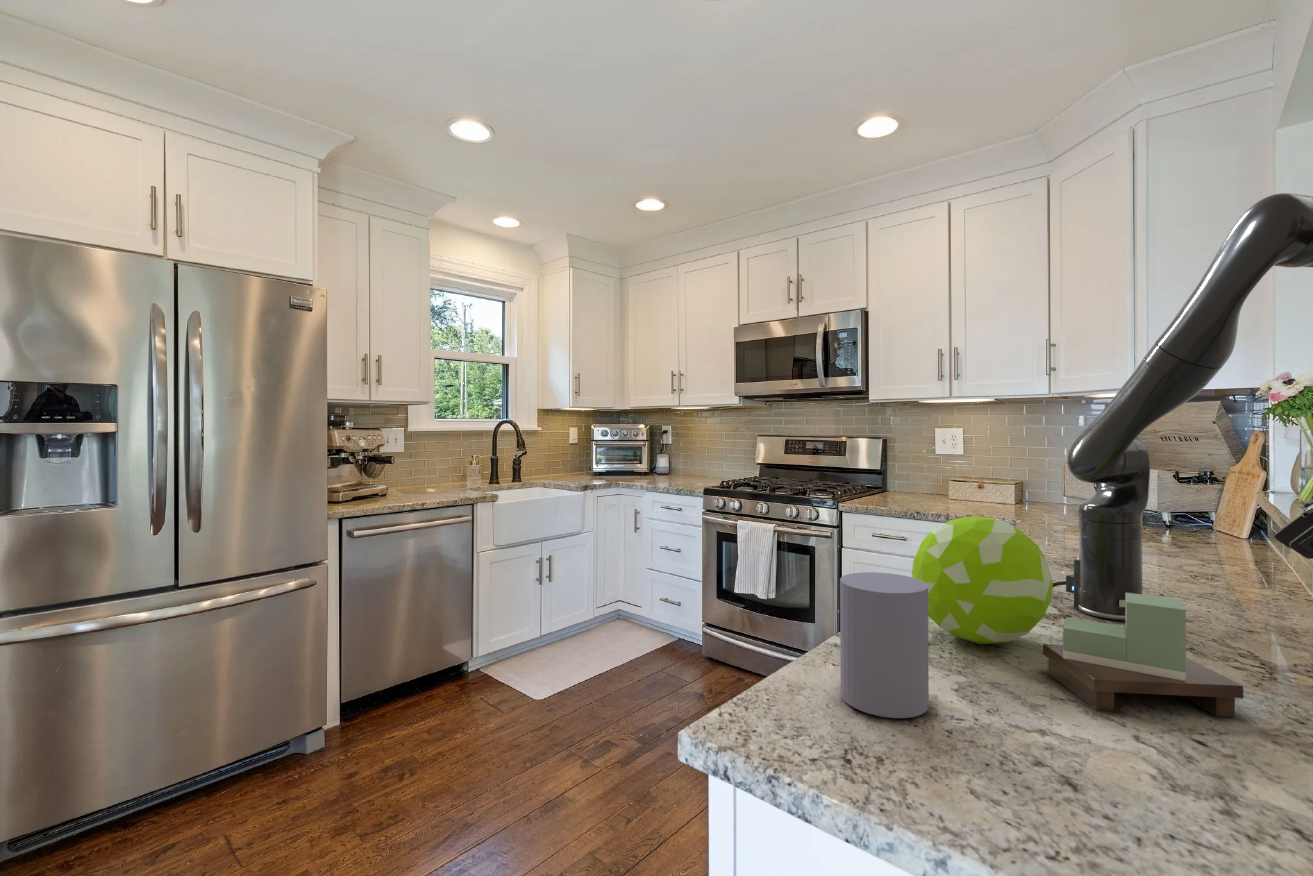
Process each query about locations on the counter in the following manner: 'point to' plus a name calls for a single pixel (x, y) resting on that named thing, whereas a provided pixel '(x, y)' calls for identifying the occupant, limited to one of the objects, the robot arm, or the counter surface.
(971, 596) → the melon
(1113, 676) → the shoe shelf
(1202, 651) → the counter surface
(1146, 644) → the sage green stepped block
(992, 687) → the counter surface
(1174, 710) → the counter surface
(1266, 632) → the counter surface
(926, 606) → the container
